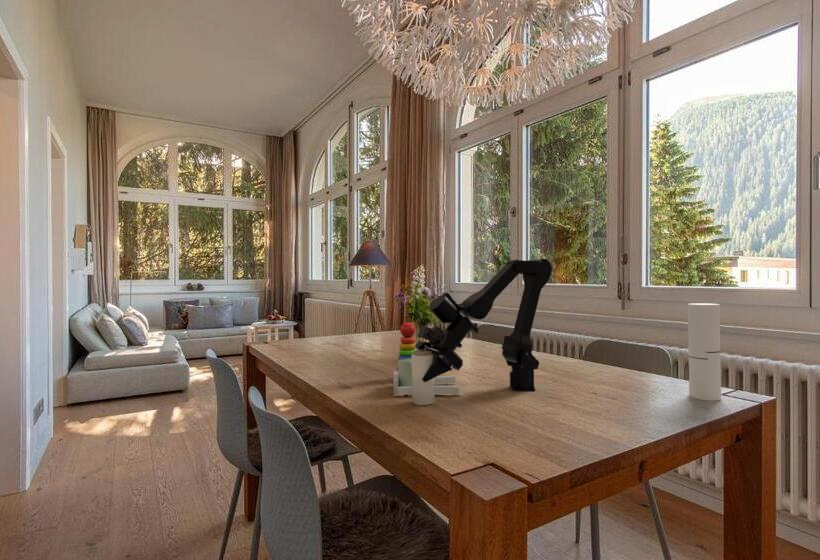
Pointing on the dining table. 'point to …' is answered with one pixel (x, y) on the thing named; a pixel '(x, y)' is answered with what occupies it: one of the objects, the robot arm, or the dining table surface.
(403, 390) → the white u-shaped frame
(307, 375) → the dining table surface
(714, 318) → the cylindrical container
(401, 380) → the grey-green cylinder
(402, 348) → the stacking toy
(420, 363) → the cream jar
